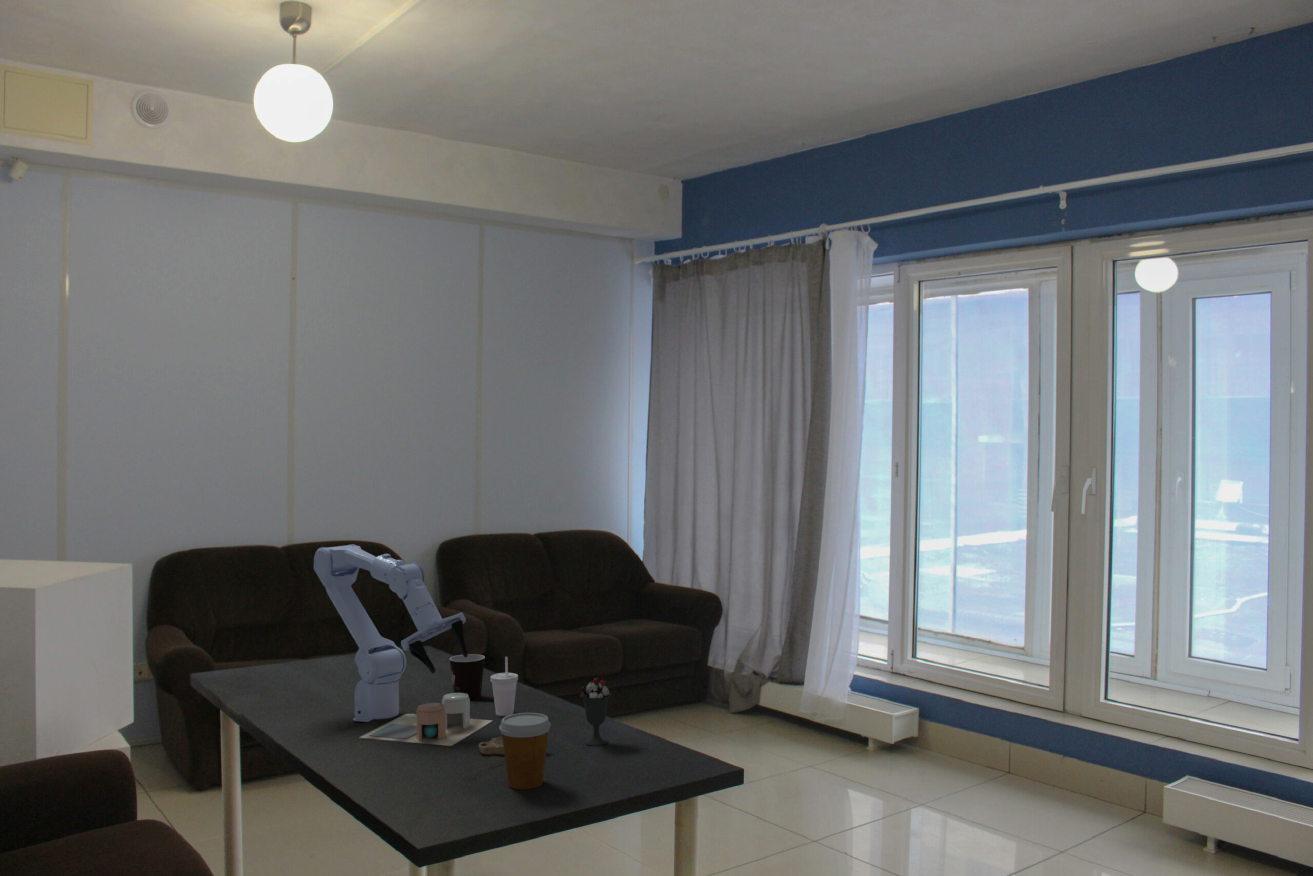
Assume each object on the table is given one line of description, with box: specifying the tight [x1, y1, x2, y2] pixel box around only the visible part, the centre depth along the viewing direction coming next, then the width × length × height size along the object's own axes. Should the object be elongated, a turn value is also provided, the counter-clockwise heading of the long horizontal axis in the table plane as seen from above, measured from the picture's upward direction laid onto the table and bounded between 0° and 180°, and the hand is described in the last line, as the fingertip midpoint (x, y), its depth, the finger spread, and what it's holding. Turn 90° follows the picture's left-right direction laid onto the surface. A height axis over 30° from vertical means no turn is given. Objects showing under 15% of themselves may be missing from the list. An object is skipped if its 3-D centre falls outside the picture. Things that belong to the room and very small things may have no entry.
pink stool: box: [415, 702, 446, 741], centre depth 208 cm, size 6×6×7 cm
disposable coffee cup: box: [498, 712, 552, 790], centre depth 182 cm, size 10×10×12 cm
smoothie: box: [490, 656, 519, 717], centre depth 226 cm, size 6×6×14 cm
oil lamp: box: [478, 735, 505, 756], centre depth 199 cm, size 13×8×5 cm, turn 105°
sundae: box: [579, 669, 612, 747], centre depth 207 cm, size 7×7×15 cm
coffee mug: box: [449, 653, 486, 702], centre depth 245 cm, size 12×9×10 cm
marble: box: [424, 724, 438, 738], centre depth 208 cm, size 3×3×3 cm
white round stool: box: [441, 692, 471, 729], centre depth 216 cm, size 6×6×7 cm
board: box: [358, 713, 493, 747], centre depth 214 cm, size 22×19×1 cm
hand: (450, 663), depth 213 cm, fingers open, 7 cm apart
